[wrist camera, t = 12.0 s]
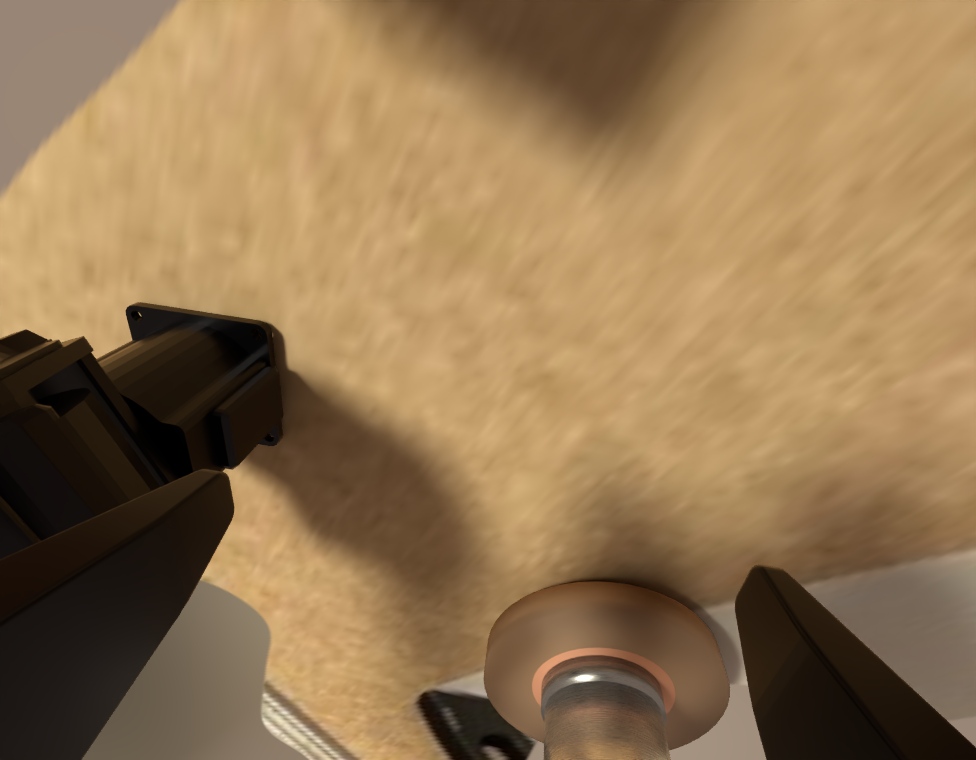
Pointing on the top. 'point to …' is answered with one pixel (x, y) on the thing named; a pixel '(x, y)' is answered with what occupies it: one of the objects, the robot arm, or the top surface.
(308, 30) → the top surface
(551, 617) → the turntable
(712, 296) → the top surface
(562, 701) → the canister
